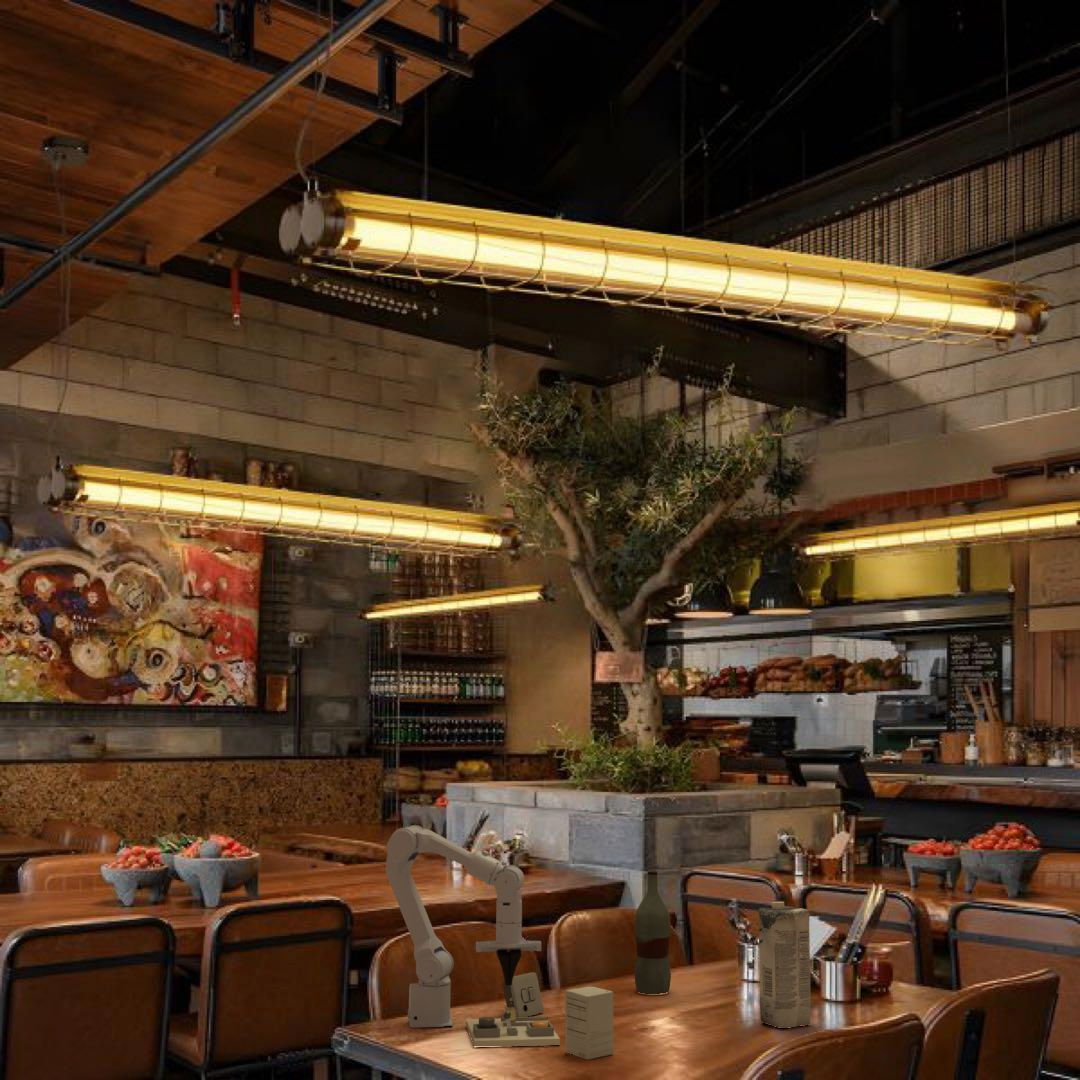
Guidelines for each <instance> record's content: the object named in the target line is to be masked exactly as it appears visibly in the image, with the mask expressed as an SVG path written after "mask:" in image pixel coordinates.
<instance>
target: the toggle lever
mask: <svg viewBox="0 0 1080 1080" xmlns="http://www.w3.org/2000/svg"><path fill="white" fill-rule="evenodd" d="M502 1016H503V1018H505V1019H506V1023H507V1028H508V1030H512V1028H511V1022H510V1017H511V1014H510V1012H505V1011H504V1012H503V1015H502Z"/></svg>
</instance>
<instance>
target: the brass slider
mask: <svg viewBox="0 0 1080 1080" xmlns="http://www.w3.org/2000/svg"><path fill="white" fill-rule="evenodd" d="M505 1012H510V1014H511V1017H510V1022H515V1017H516V1010H515V1008H514V1007H507V1006H506V1007H504V1013H505ZM505 1022H506V1019H505Z"/></svg>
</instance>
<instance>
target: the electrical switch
mask: <svg viewBox="0 0 1080 1080" xmlns="http://www.w3.org/2000/svg"><path fill="white" fill-rule="evenodd" d="M537 975H538V974H537V973H536V971H535V972H534V971H533V972H528V973H523V974H519V975H515V976H513V980H512V985H507V986H506V985H505V981H503V982H502V988H503V989H502V990H503V993H504V994H503V995H504V997H505V998H504V999H505V1004H506V1005H505V1006H506V1007H514V1008H515V1010H516V1016H515V1017H528V1016H529V1017H533V1016H537V1015H539V1013H540V1014H543V1013H544V1011H545V1010H544V1003H543V998H542V994H541V988H540V985H539V979H538V976H537ZM532 1015H533V1016H532Z"/></svg>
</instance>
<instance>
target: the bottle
mask: <svg viewBox="0 0 1080 1080" xmlns="http://www.w3.org/2000/svg"><path fill="white" fill-rule="evenodd" d="M658 873H659V871H658V870H657V869H648V870H647V890H646V893H645V895H644V897H643V899H642V901H641V902H640V904H639V905H638V907H637V908H636V912H635V915H634V931H635V932H634V933H635V946H636V960H635V969H634V985H635V989H636V993H637V992H640V993H645V994H660V993H666V992H668V991H669V992H670V987H671V979H672V975H671V974H672V973H671V964H670V958H669V951H670V937H671V935H670V934H671V928H672V925H671V916H670V913H669V909H668V907H667V906H666V903H665V902H664V900H663V899H662V897H661V895H660V894H659V892H658V885H659V884H658ZM669 992H668V993H669Z"/></svg>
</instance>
